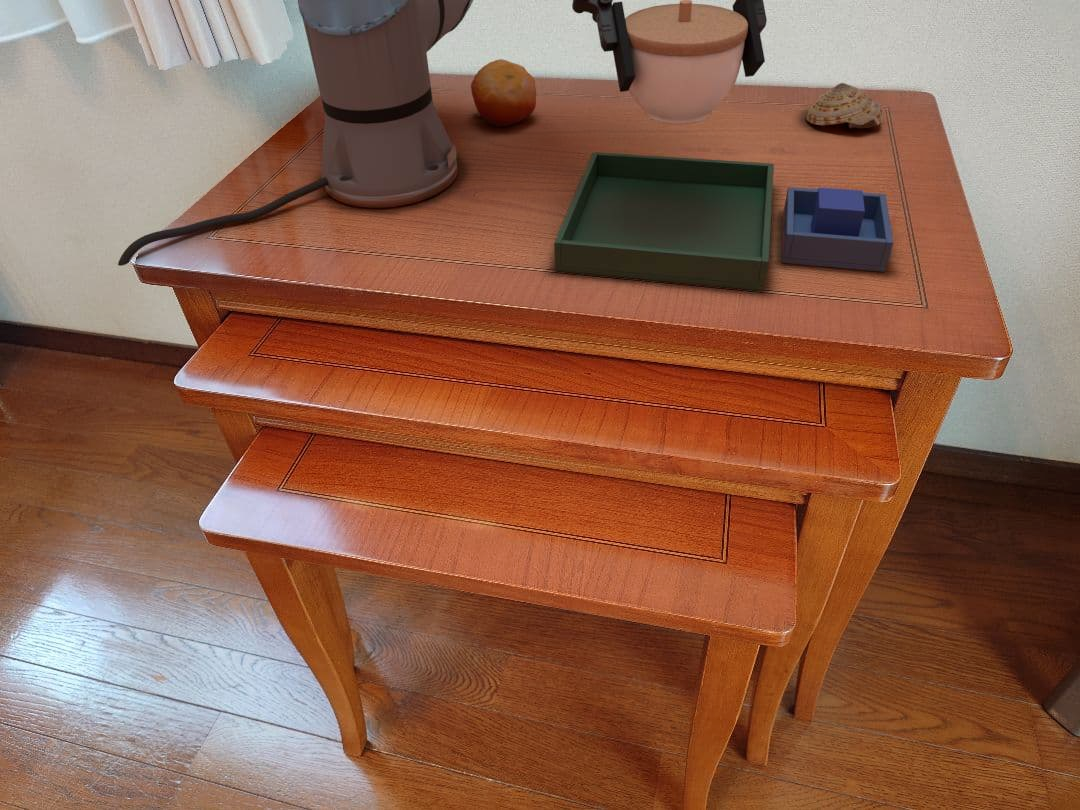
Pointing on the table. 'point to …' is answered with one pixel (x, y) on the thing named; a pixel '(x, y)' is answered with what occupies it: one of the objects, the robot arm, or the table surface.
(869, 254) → the blue tray
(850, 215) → the blue block
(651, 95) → the trinket box
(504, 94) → the fruit
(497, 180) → the table surface
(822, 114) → the seashell
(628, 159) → the green tray
